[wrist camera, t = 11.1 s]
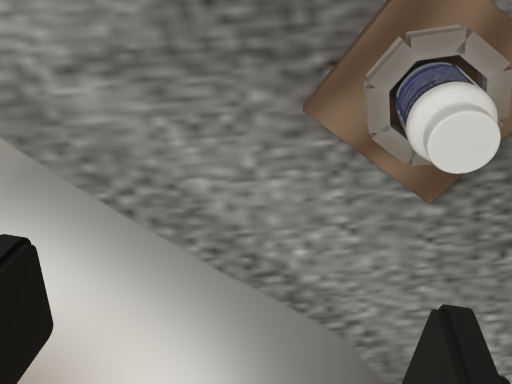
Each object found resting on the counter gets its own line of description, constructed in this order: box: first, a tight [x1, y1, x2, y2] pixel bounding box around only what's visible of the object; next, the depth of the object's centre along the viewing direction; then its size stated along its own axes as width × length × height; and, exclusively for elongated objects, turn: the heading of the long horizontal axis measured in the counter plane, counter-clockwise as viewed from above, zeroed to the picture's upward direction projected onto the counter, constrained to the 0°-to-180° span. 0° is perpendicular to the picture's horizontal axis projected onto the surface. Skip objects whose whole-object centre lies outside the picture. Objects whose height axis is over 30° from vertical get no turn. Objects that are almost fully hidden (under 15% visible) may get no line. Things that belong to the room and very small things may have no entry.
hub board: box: [303, 0, 512, 204], centre depth 33 cm, size 14×14×4 cm
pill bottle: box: [394, 59, 501, 174], centre depth 29 cm, size 5×5×10 cm
